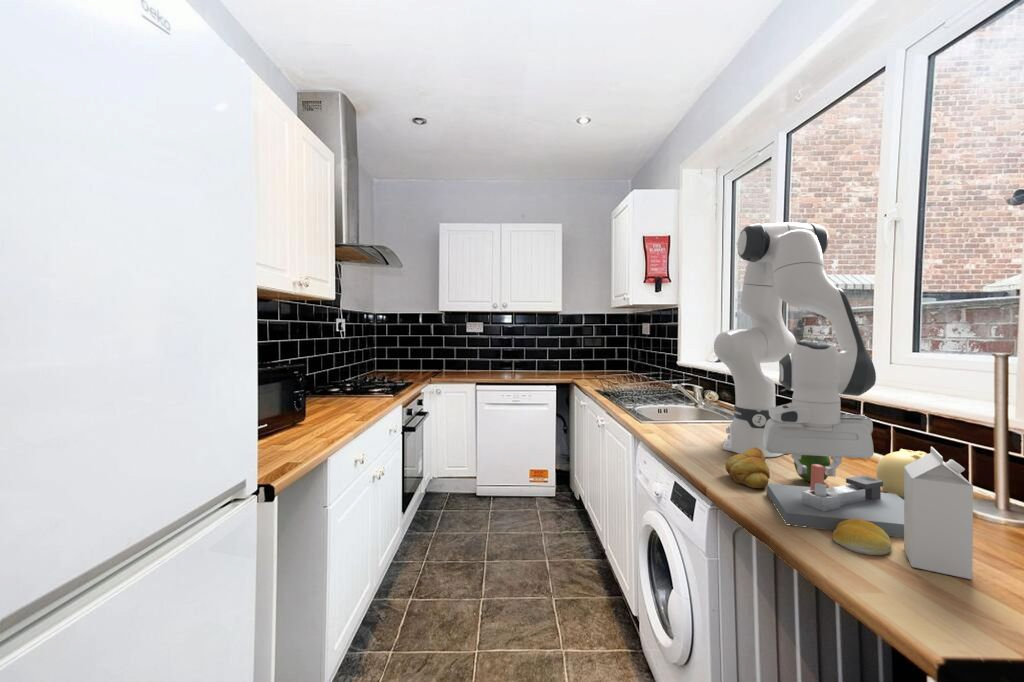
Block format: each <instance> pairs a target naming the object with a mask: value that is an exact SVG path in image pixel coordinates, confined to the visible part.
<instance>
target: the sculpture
mask: <svg viewBox="0 0 1024 682" xmlns="http://www.w3.org/2000/svg"><path fill="white" fill-rule="evenodd" d="M927 454H928V453H927V452H925V451H921V450H917V451H916V450H915V451H914V450H910V449H903V448H900V449H899V451H892V452H890V453H887V454H885V455H884V456H883V457H881V458H880V459H879V461H878V462H877V464H876V468H875V475H876V479H879V480H881V481H883V486H881V489H883V491H884V492H885V493H893V494H897V495H898V496H899V497H901V498H902V499H904V466H906V465H908V464H910V463H912V462H914V461H916V460H918V459H919V458H921V457H923V456H925V455H927Z"/></svg>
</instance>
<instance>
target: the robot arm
mask: <svg viewBox="0 0 1024 682" xmlns="http://www.w3.org/2000/svg"><path fill="white" fill-rule="evenodd" d="M828 245H829V233H828V231H827V229H826V227H824V226H823V225H821V224H817V223H811V222H808V223H802V222H789V221H788V222H786V221H785V222H775V223H763V224H761V223H753V224H750V225H749V224H748V225H747V226H745V227H744V228H743V229H742V230H741V232H740V233H739V235H738V239H737V243H736V247H737V254H738V256H739V257H740V258H741V260H743V261H746V262H747V264H746V268H745V272H744V276H743V282H742V290H741V298H740V309H741V310H742V312H743V313H745V314H746V315H747V316H749V318H750V320H751V324H752V325H751V328H733V329H730V330H729V329H728V330H725V331H723V332H719V334H717V336H716V337H715V339H714V343H713V351H714V355H716V358H717V359H718V360H719V361H721V362H722V363H723V364H724V365H725V366H726V367H727V368H728V370H729V372H730V373H731V375H732V379H733V382H734V393H735V396H734V397H735V398H734V399H735V405H734V407H733V417H734V418H733V419H732V421H731V423H730V424H729V425H726V426H725V433H726V434H727V436H725V439H724V442H723V445H722V450H725V451H728V452H733V453H736V454H743V452H745V451H746V450H748V449H750V448H758V449H760V450H761V451H762V452H763V453H764V455H765V458H775V457H780V456H782V455H791V458H792V459H793V462H794V461H795V463H796V464H797V471H796V473H797V472H798V473H799V474H805V475H807V472H806V471H807V467H806V466H805V465H801V463H800V462H799V460H798V459H801V455H813V456H828V457H829V458H830V460H832V461H830V465H829V466H825V475H827V476H828V477H833V478H836V470H837V469H838V468H839V466H840V465H841V464H842V461H843V459H842V458H848V459H867V460H869V459H870V458H872V457H873V456H874V454H875V453H874V452H875V451H874V443H873V442H874V441H873V438H872V433H873V431H874V426H873V425H874V423H873V421H872V420H871V418H870V417H868V416H865V414H860V413H859V414H857V413H856V414H852V413H851V414H850V413H841V410H842V409H841V408H842V407H841V397H840V395H843V396H852V397H853V396H854V397H859V396H862V395H864V394H865V393H866V392H868V391H869V390H871V389H872V388H873V387H874V386H875V385H876V380H877V372H876V369H875V365H874V363H873V360H872V358H871V356H870V354H869V352H868V350H867V347H866V345H865V343H864V340H863V337H862V334H861V331H860V329H859V325H858V323H857V320H856V317H855V314H854V312H853V307H852V306H851V304H850V301H849V298H848V297H847V295H846V292H845V291H844V290H843V289H842V288H840V287H837V286H835V284H833V283H832V282H831V280H830V278H828V276H827V273H826V268H825V261H824V256H823V255H824V254H825V253H826V251H827V249H828ZM783 302H785V303H786V304H787V305H789V306H792V307H795V308H797V309H801V310H802V309H803V310H806V311H810V312H813V313H815V314H818V315H820V316H823V317H825V318H826V319H827V320H828V321H829V323H830V324H831V325H832V329H833V332H834V334H835V339H836V341H837V344H838V346H837V344H836V343H835V342H833V341H831V340H828V339H822V338H821V339H820V338H806V339H801V340H798V341H797V340H796V337H795V335H794V334H793V333H792V332H791V331H790V330H789V329H788V328H787V326H786V324H785V321H784V318H783ZM838 347H839V350H840V351H838ZM777 362H778V366H779V377H778V381H779V384H780V385H782V386H783V388H786V389H787V391H792V392H793V393H792V397H791V402H789V403H786V404H781V405H776V383H775V382H774V380H773V379H771V378H770V377H768V376H767V375H765V374H764V372H763V371H762V368H761V364H762V363H763V364H764V363H765V364H767V363H768V364H769V363H777ZM798 473H797V474H798Z"/></svg>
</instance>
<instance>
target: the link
mask: <svg viewBox="0 0 1024 682" xmlns="http://www.w3.org/2000/svg"><path fill="white" fill-rule="evenodd" d="M860 501H865V489H864V488H861V487H857V486H854V485H851V484H848V483H847V484H844V485H839V486H833V487H829V488H828V489H826V497H820V496H817V495H815V489H812V490H807V491H802V503H803V504H805V505H808V506H810V507H813V508H815V509H818V510H820V511H823V512H824V511H829V510H833V509H838V508H840V506H841V505H846V504H851V503H855V502H860Z"/></svg>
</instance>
